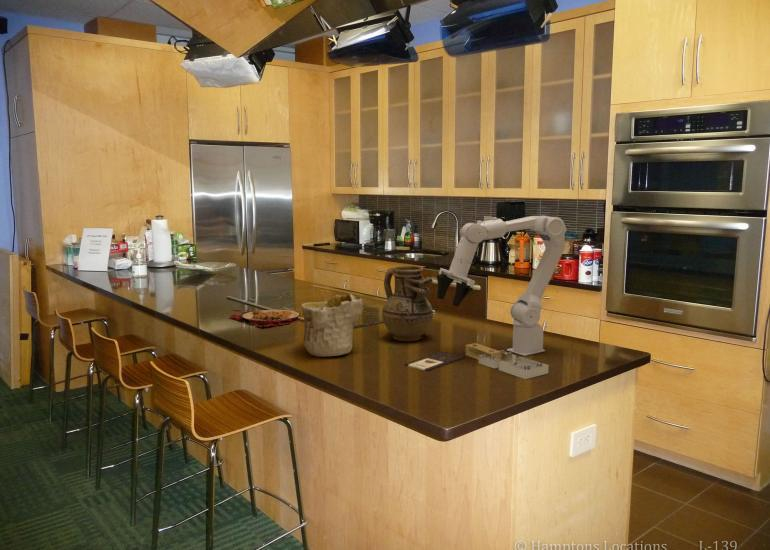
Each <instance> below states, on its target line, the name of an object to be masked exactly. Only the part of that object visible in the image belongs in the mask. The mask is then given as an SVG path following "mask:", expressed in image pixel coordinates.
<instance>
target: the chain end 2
mask: <svg viewBox="0 0 770 550" xmlns="http://www.w3.org/2000/svg"><path fill="white" fill-rule="evenodd" d="M498 371H501V372H503V373H506V374H509V375H512V376H514V377H517V378H521V379H523V380H529V379H533V378H536V377H540V376H543V375H544V376H545V375H547V374H549V364H548V363H547V364H546V363H544V362H543V363H542V362H540V361H536V360H533V359H530V358H526V357H525V356H518V357H516V363H515V364H512V363H509V362H506V361H500V362H499V363H498Z"/></svg>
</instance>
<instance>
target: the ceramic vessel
mask: <svg viewBox="0 0 770 550" xmlns="http://www.w3.org/2000/svg"><path fill="white" fill-rule="evenodd" d="M363 302H364V301H363V299H362V297H359V296H355V295H353V294H352V293H348V294H347V295H345V294H342V295H340V294H336V295H334V296H332V297H331V298H329V299H328V300H325V301H319V302H318V301H317V302H311V301H310V302H305V303H302V304H301V305H300V308H301V311H302V314H303V315H304V316H303V315H302V316H303V317H304V319H303V321H304V322H303V326H304V332H303V338H302V339H303V341H302V343H303V346H304V347H305V350H306V351H307V352H308V353H309V354H310V355H311V356H314V357H317V358H323V357H324V358H325V357H337V356H342V355H346V354H349V353H351V351H352V349H353V340H354V339H353V335H354V333H353V331H354V323H356V322H357V321H358V317H359V316H360V315H361V314H362V313H363V309H364V303H363Z"/></svg>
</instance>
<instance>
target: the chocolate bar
mask: <svg viewBox="0 0 770 550" xmlns="http://www.w3.org/2000/svg"><path fill="white" fill-rule="evenodd" d="M464 359H466V357H465V356H464V355H459V354H455V353H451V352H450V353H449V352H445V351H438V352H437V353H433V354H430V355H428V356H424V357H422V358H418V359H415V360H412V361H408V362H407V363H404V366H406V367H409V368H413V369H417V370H421V371H425V372H431V371H433V370H436V369H439V368H441V367H445V366H447V365H450V364H453V363H456V362H458V361H461V360H464Z"/></svg>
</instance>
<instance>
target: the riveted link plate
mask: <svg viewBox="0 0 770 550" xmlns="http://www.w3.org/2000/svg"><path fill="white" fill-rule="evenodd" d="M482 354H487V356H494V358H496V359H498V364H499V362H500V361H501V352H500V350H497V349H494V348H491V347H489V346H486V345H483V344H480V343H476V342H475V343H469V344H466V345H465V356H467V357H470V358H472V359H475V360H478V361H479V355H482Z"/></svg>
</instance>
